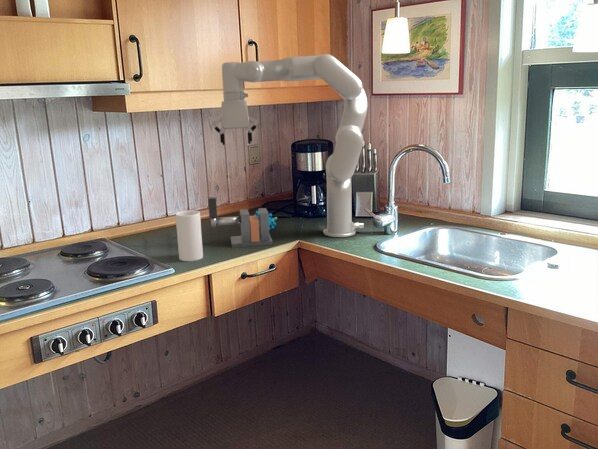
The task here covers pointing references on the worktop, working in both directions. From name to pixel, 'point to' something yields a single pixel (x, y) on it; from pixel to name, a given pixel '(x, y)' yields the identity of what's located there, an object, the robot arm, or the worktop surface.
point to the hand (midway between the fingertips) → (236, 144)
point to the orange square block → (254, 228)
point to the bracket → (245, 230)
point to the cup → (189, 235)
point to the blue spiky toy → (271, 220)
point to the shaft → (222, 220)
